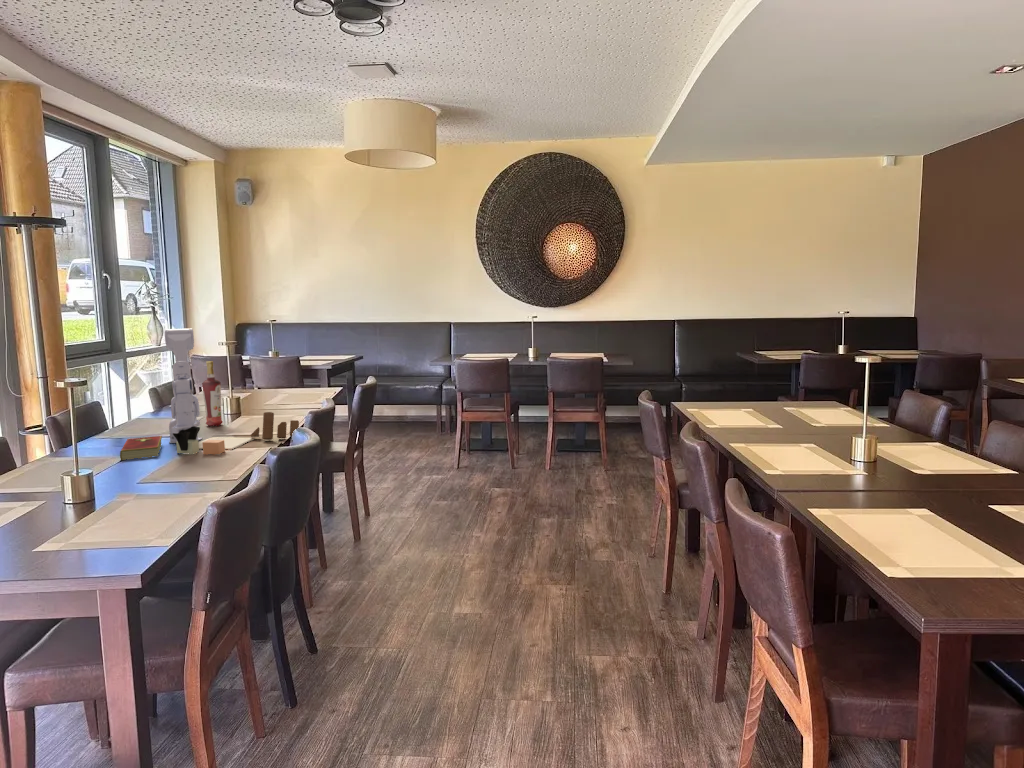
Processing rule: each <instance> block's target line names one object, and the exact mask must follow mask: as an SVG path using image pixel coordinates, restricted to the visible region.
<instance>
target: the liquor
mask: <svg viewBox="0 0 1024 768" xmlns="http://www.w3.org/2000/svg"><path fill="white" fill-rule="evenodd" d="M205 362H206V368H207V374H206V375H207V377H206V380H203V381H202V383H201V386H202V394H203V402H204V410H205V417H206V419H205V420H206V422H205V425H207V426H208V427H210V426H216V427H219V425H220V426H221V425H222V424H223V423H224V422H223V419H222V389H221V381H220V380H219V379H216V378H215V377H216V376H215V373H214V361H213V360H211V361H210V360H209V361H207V360H206V361H205Z"/></svg>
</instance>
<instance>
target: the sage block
mask: <svg viewBox="0 0 1024 768" xmlns="http://www.w3.org/2000/svg"><path fill="white" fill-rule="evenodd" d="M198 443H199V441H198V440H188V450H187V451H181V449H180V446H179V443H178V442H176V443H175V444H176V445H175V446H176V454H177V453H189V454H188V455H194V454H193V453H195V454H197V453H199V452H200V450H199V444H198ZM198 451H199V452H198ZM196 452H197V453H196Z"/></svg>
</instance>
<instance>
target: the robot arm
mask: <svg viewBox="0 0 1024 768" xmlns="http://www.w3.org/2000/svg"><path fill="white" fill-rule="evenodd" d="M164 342H165V345H166V349H167V351H170V352H172V353H173V355H174V357H175V363H173V365H172V374H173V376H172V377H173V381H172V383H171V385H172V392H173V397H172V398H171V400H170V411H171V417H172V419H171V420H170V422H169V424H168V428H169V429H168V430H169V432H168V433H169V442H168V443H169V444H176V442H178V443H179V446H180V449H181V451H187V450H188V440H198V442H200V441H202V440H203V437H199V435H198V434H199V432H200V429H201V427H199V426H200V425H201V424H200V423H201V422H200V421H201V420H199V419H197V418H198V417H200V415H201V413H200V404H199V398H198V396H197V395H195V394H194V385H193V382H194V381H193V378H192V374H191V366H190V363H189V362H188V354H189V352H190V351H191V350H193V349H194V347H195V339H194V329H193V328H192V327H190V328H165V329H164Z"/></svg>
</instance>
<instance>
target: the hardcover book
mask: <svg viewBox="0 0 1024 768" xmlns="http://www.w3.org/2000/svg"><path fill="white" fill-rule="evenodd" d="M162 438H163V435H155V436H143V437H133V438H132V437H130V438H127V439H126V441H125V443H124V444H123V446H122V448H121V450H120V451H119V457H120V458H119V459H120V461H125V460H126V459H127V460H135V459H134V458H138V459H143V458H142V457H148V458H153V457H152V456H158V457H159V454H158V453H160V451H161V448H162V445H161V444H162ZM160 447H161V448H160ZM159 450H160V451H159Z"/></svg>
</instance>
